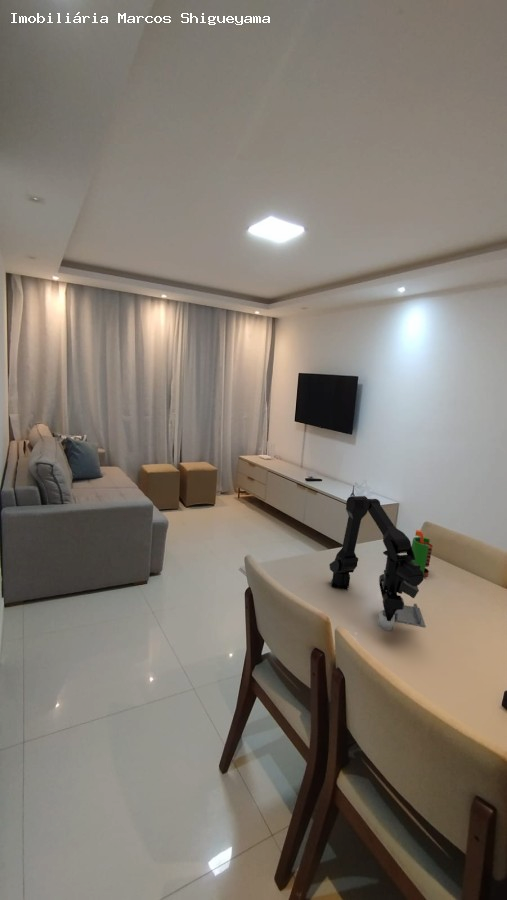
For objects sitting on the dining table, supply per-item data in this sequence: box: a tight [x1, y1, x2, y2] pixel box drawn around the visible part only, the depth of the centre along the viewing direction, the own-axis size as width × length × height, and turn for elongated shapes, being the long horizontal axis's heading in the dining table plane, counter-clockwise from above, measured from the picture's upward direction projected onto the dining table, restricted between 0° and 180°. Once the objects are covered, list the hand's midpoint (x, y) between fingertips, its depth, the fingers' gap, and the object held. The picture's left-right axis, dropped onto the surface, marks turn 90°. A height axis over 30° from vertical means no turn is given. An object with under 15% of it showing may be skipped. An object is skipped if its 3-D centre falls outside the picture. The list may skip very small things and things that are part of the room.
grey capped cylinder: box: [377, 609, 395, 632], centre depth 141 cm, size 5×5×6 cm
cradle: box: [394, 603, 426, 628], centre depth 150 cm, size 12×12×2 cm
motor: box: [411, 529, 434, 579], centre depth 184 cm, size 10×9×20 cm
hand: (387, 613), depth 141 cm, fingers open, 9 cm apart
